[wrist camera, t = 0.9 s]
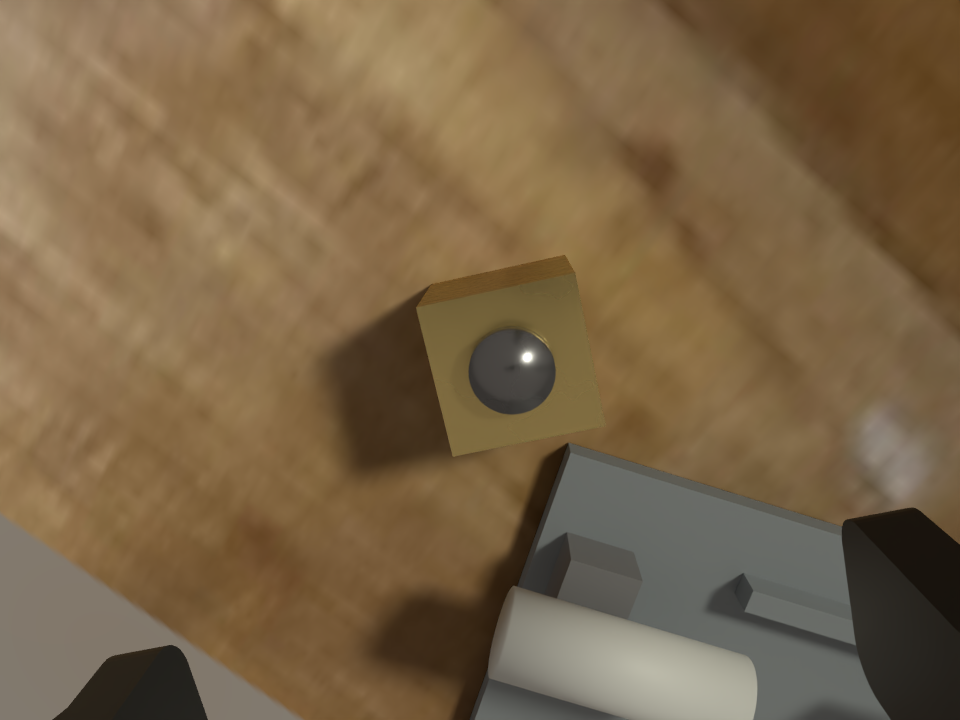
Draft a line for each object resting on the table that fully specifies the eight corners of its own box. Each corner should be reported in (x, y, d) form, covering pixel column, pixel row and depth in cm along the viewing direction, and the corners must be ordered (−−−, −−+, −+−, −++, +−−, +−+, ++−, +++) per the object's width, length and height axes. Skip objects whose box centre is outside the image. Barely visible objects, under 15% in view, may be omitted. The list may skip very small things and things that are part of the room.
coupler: (564, 254, 27) (576, 275, 22) (591, 384, 28) (608, 432, 23) (431, 283, 27) (413, 311, 22) (461, 410, 28) (451, 464, 23)
